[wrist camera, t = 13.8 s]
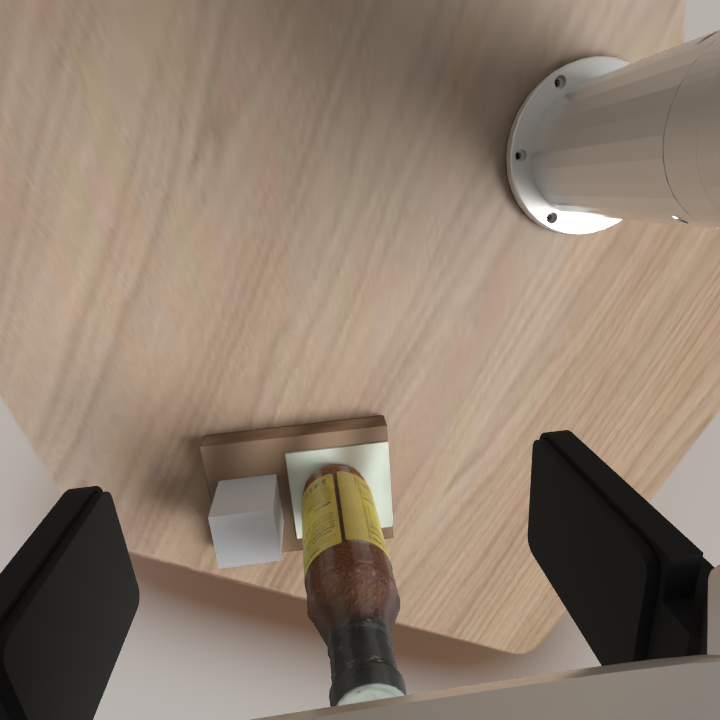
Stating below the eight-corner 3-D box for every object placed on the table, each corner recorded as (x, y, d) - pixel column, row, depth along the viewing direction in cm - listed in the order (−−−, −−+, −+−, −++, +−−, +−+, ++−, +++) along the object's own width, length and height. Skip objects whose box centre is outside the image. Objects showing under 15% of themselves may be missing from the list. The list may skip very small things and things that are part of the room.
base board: (383, 415, 44) (387, 426, 42) (390, 524, 48) (393, 539, 46) (204, 435, 43) (199, 448, 41) (226, 545, 47) (223, 561, 45)
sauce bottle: (304, 522, 44) (302, 765, 26) (298, 463, 42) (291, 681, 24) (375, 515, 45) (423, 748, 26) (373, 456, 43) (424, 664, 24)
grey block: (276, 474, 42) (272, 509, 38) (283, 521, 44) (281, 560, 39) (218, 481, 42) (208, 517, 37) (228, 528, 44) (219, 568, 39)
